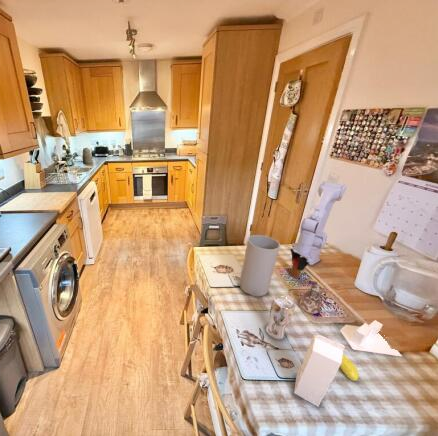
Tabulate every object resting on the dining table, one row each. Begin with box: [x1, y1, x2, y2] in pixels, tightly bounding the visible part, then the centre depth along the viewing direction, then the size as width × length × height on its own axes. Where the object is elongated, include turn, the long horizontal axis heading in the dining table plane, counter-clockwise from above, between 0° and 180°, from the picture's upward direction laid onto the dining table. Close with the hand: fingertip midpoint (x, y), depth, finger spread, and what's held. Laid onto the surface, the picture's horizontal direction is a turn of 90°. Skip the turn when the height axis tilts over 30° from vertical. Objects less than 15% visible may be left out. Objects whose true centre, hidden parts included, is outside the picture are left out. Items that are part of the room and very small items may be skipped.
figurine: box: [299, 281, 324, 315], centre depth 95 cm, size 7×7×12 cm
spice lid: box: [291, 258, 299, 267], centre depth 113 cm, size 5×5×2 cm
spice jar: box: [289, 264, 303, 279], centre depth 115 cm, size 4×4×8 cm
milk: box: [293, 333, 346, 408], centre depth 64 cm, size 6×6×22 cm
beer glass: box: [265, 295, 296, 340], centre depth 83 cm, size 7×7×15 cm
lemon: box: [339, 354, 359, 382], centre depth 73 cm, size 4×8×4 cm, turn 169°
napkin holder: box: [339, 319, 403, 357], centre depth 83 cm, size 15×11×6 cm
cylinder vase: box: [238, 234, 281, 297], centre depth 103 cm, size 12×12×25 cm
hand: (297, 266), depth 114 cm, fingers closed on spice lid, 5 cm apart
